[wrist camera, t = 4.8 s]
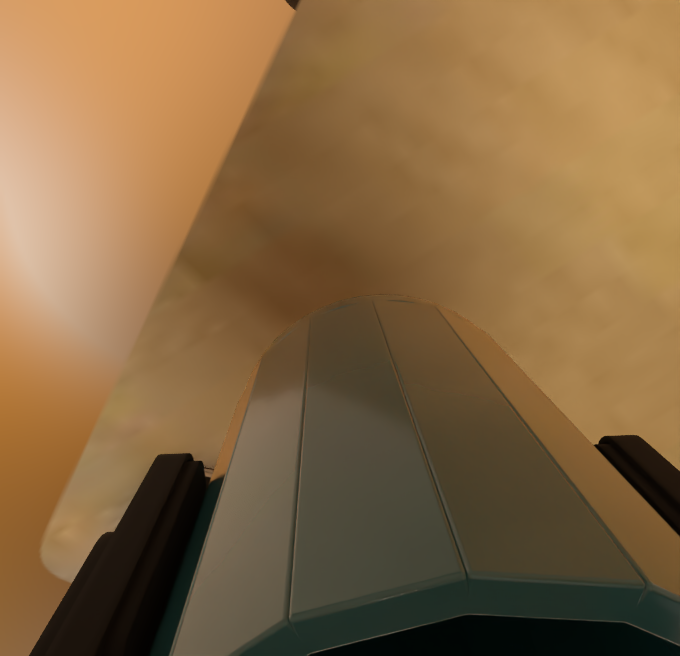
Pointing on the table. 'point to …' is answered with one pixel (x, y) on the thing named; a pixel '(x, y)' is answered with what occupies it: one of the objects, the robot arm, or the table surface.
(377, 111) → the table surface
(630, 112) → the table surface
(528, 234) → the table surface
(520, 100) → the table surface
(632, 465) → the robot arm
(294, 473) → the cup
